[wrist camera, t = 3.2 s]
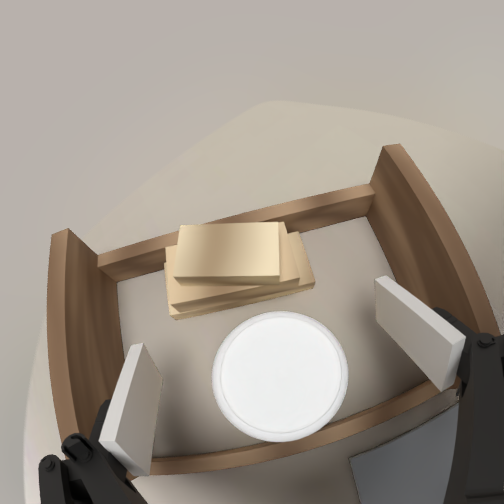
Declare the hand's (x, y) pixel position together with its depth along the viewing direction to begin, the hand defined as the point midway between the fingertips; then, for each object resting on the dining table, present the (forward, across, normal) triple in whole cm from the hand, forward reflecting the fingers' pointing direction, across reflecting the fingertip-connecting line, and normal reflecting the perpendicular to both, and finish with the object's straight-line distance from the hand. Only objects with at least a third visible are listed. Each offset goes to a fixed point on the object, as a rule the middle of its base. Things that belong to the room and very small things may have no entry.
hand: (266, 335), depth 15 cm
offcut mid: (+6, -1, +1) cm, 6 cm away
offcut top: (+5, -1, +3) cm, 6 cm away
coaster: (-7, +8, -13) cm, 17 cm away
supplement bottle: (+2, 0, -5) cm, 5 cm away
